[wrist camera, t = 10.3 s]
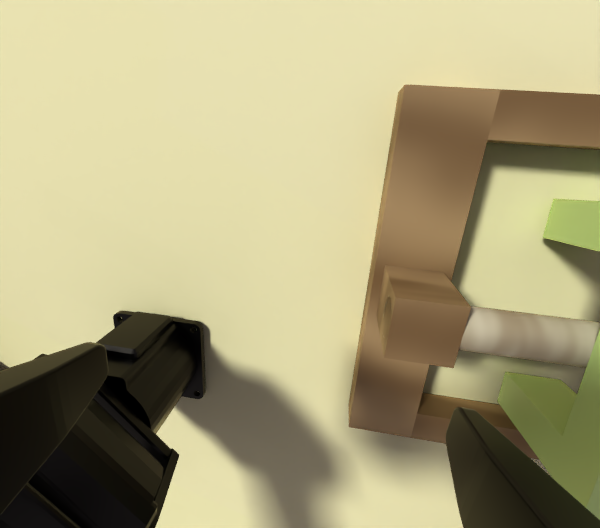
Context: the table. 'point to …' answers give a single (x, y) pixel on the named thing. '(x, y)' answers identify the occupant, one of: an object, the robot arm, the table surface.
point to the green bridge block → (564, 386)
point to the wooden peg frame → (452, 257)
